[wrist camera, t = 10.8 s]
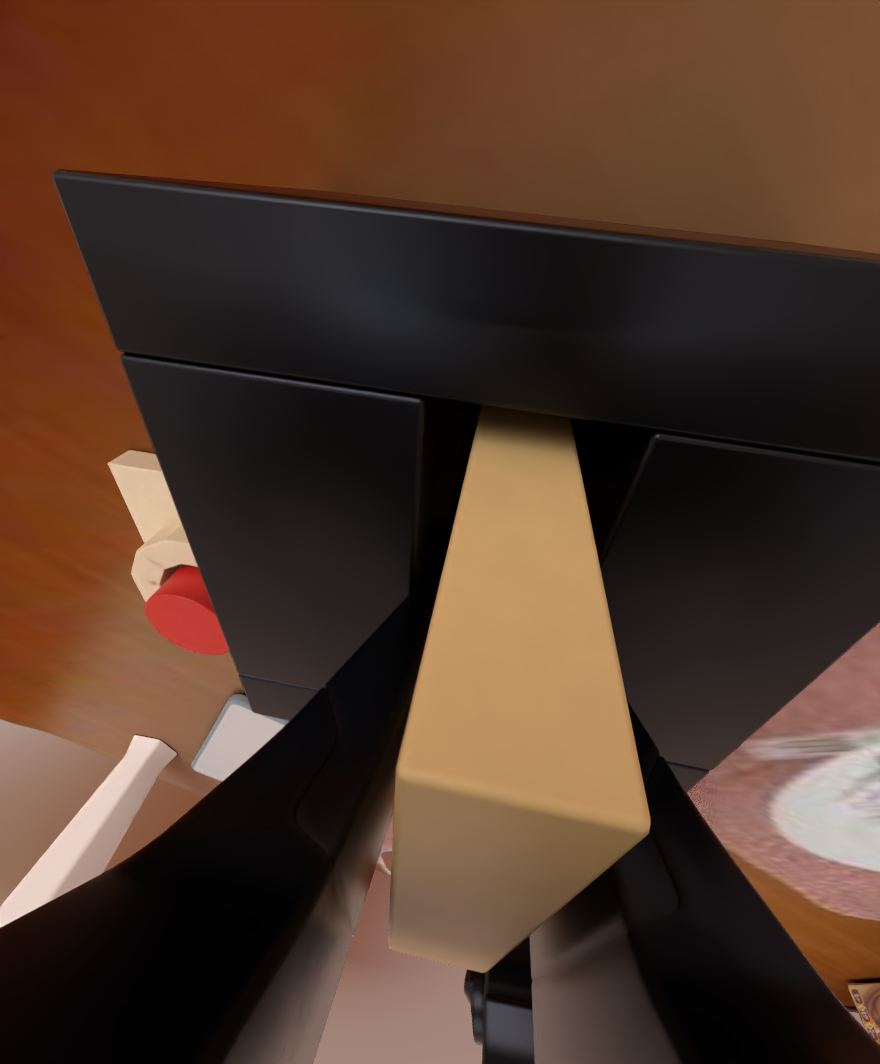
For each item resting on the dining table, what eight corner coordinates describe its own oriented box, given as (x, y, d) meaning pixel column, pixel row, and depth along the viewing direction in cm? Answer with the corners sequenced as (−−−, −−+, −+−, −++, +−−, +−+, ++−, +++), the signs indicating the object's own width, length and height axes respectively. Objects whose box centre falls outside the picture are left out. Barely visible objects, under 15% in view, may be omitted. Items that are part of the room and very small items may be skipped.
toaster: (319, 190, 11) (43, 167, 5) (801, 243, 10) (1253, 301, 4) (345, 542, 18) (251, 713, 12) (623, 591, 17) (676, 803, 11)
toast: (482, 399, 8) (392, 776, 3) (571, 412, 8) (660, 835, 2) (447, 627, 12) (386, 950, 7) (505, 638, 12) (487, 975, 6)
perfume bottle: (142, 754, 39) (-25, 990, 27) (121, 730, 36) (-74, 981, 24) (187, 763, 38) (38, 1007, 27) (170, 740, 36) (-6, 1001, 24)
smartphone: (342, 748, 29) (277, 804, 38) (347, 735, 30) (282, 792, 38) (228, 698, 27) (187, 769, 36) (236, 685, 28) (195, 757, 37)
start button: (162, 557, 17) (129, 587, 16) (245, 572, 17) (221, 605, 15) (187, 615, 19) (161, 646, 18) (262, 629, 19) (241, 662, 18)
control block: (129, 449, 17) (66, 486, 15) (316, 479, 17) (281, 524, 14) (196, 610, 23) (159, 655, 21) (334, 637, 23) (312, 686, 20)
